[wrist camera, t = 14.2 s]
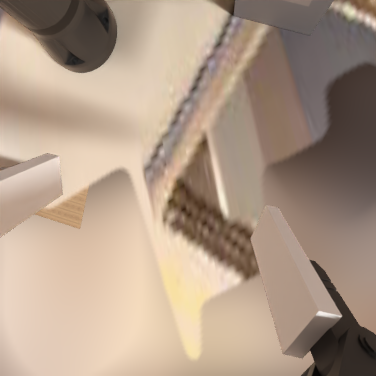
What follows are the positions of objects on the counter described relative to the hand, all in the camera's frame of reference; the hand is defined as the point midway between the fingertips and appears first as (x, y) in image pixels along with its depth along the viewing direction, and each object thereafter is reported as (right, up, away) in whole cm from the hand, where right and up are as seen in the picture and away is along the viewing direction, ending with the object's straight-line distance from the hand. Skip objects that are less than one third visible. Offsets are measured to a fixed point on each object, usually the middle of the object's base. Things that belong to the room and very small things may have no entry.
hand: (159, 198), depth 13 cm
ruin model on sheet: (-32, +3, +33) cm, 46 cm away
